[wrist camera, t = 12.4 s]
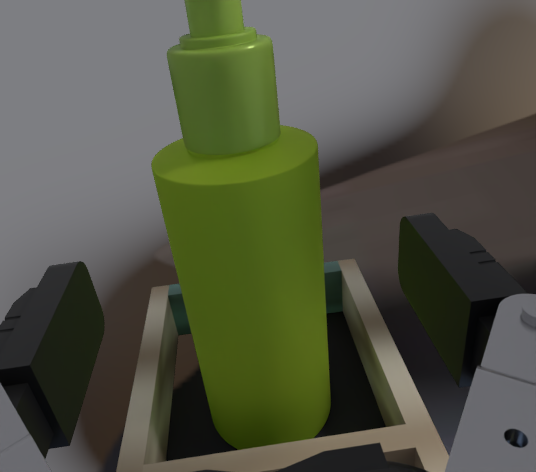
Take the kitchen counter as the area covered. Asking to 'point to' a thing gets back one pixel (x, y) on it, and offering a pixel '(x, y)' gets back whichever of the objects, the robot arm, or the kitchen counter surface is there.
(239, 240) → the soap dispenser
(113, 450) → the kitchen counter surface
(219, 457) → the caddy
